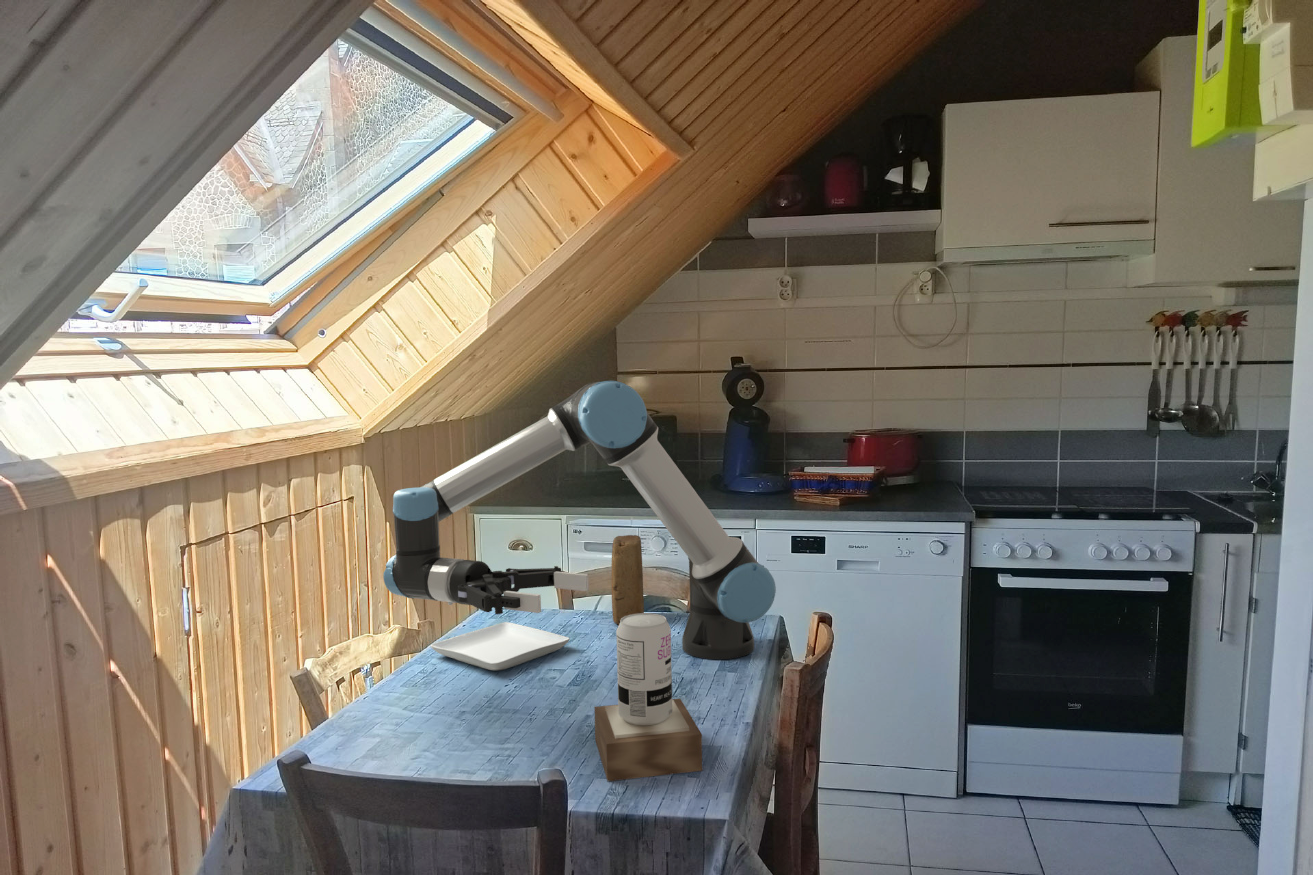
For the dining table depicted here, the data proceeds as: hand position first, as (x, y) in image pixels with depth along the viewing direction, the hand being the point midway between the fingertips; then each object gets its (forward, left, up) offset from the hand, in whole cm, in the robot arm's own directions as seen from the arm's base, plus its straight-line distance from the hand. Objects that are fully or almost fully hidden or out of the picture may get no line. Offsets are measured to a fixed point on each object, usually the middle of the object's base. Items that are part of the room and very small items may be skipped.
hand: (564, 592), depth 137 cm
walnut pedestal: (-11, +11, -23) cm, 28 cm away
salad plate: (+10, -43, -24) cm, 51 cm away
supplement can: (-11, +10, -17) cm, 23 cm away
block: (-20, -60, -23) cm, 68 cm away
